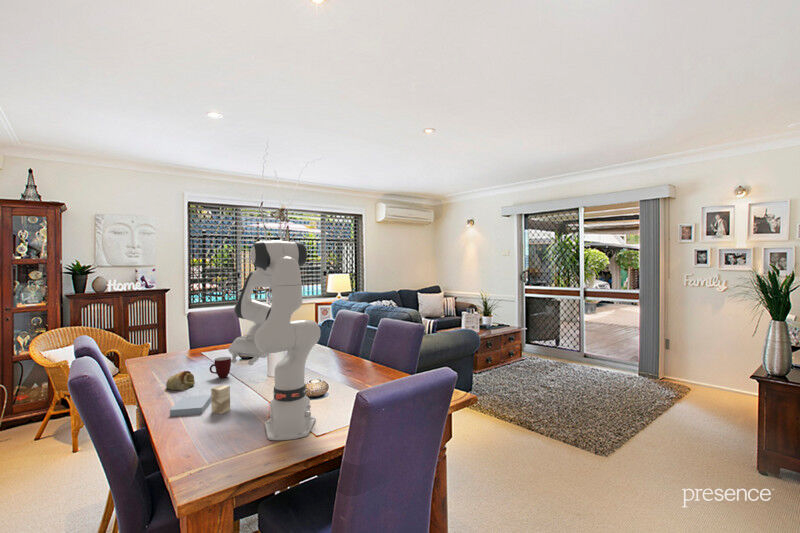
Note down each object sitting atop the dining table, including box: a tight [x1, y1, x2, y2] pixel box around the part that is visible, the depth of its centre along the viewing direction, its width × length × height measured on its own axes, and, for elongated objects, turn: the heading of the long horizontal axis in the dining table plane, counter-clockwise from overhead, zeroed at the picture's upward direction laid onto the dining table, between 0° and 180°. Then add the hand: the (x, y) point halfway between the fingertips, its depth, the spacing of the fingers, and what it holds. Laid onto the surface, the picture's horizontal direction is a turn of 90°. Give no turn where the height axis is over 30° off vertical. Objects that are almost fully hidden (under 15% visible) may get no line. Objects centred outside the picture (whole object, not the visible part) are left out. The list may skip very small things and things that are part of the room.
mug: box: [209, 356, 232, 379], centre depth 214 cm, size 10×8×10 cm
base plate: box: [169, 394, 211, 417], centre depth 171 cm, size 16×12×3 cm
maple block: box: [210, 384, 231, 415], centre depth 167 cm, size 5×5×10 cm
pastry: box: [165, 370, 196, 391], centre depth 200 cm, size 14×12×8 cm
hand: (241, 363), depth 178 cm, fingers open, 8 cm apart
